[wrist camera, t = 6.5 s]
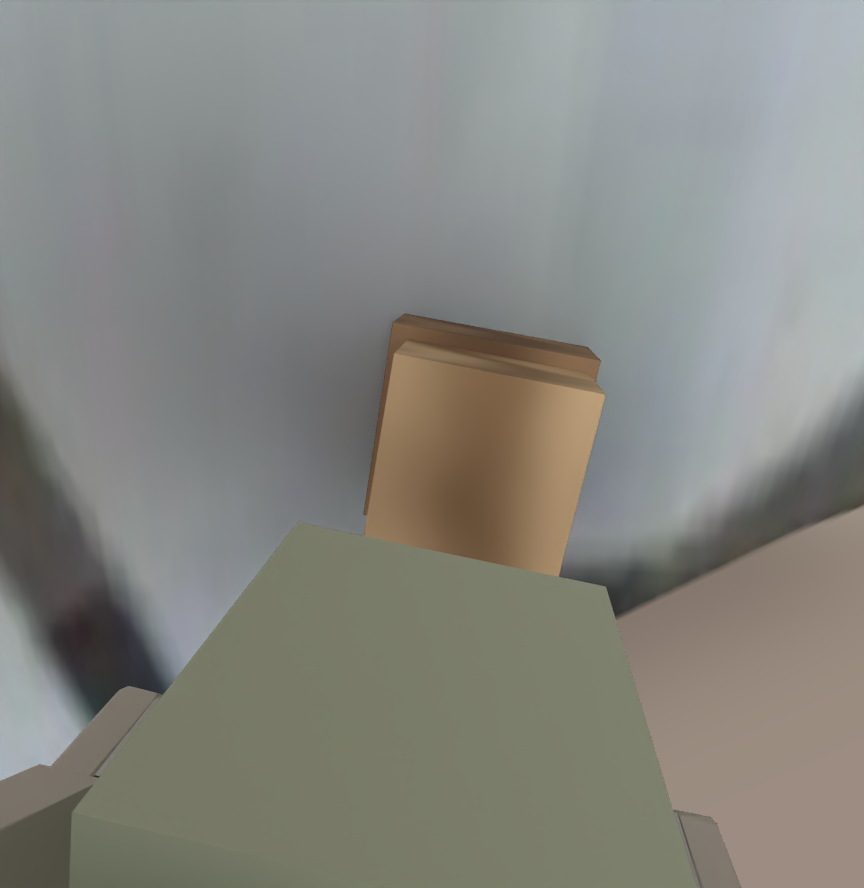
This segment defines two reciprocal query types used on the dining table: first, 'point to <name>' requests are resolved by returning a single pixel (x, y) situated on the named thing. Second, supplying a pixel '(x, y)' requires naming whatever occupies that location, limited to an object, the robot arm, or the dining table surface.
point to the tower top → (482, 455)
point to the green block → (391, 738)
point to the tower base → (483, 343)
